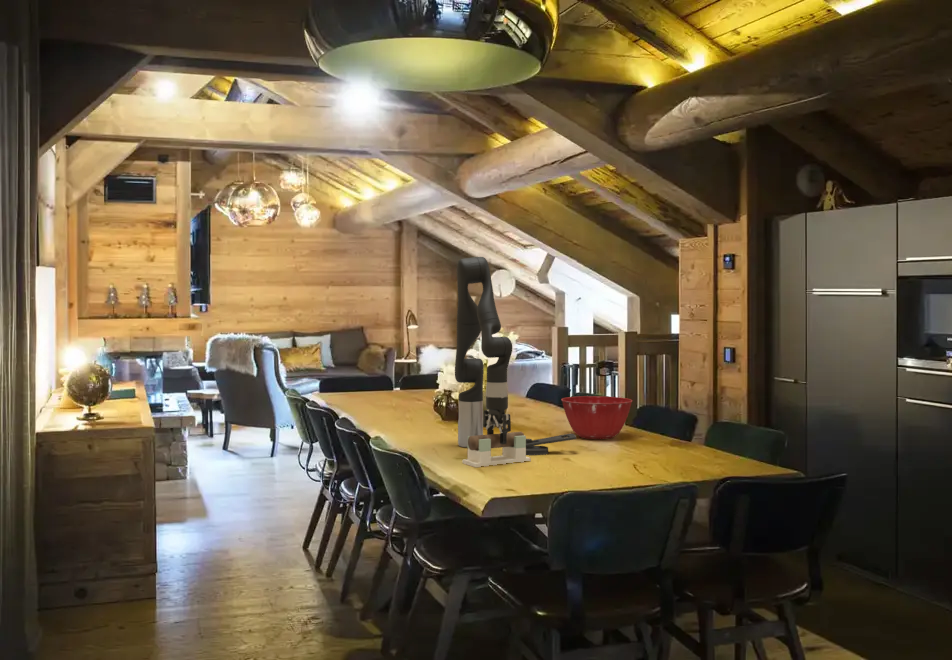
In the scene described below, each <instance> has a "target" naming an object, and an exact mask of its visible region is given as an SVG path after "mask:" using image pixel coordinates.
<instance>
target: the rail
mask: <svg viewBox="0 0 952 660" xmlns="http://www.w3.org/2000/svg"><path fill="white" fill-rule="evenodd" d="M523 435H524V436H525V433H524V432H523V431H513V432H512V431H510V432H508V433H507V443H506V444H500V433H494V434H488V435H487V434H483V435H477V436H470V437H469V438H468V446H469V449H470V450H479V439H491V449H499V448H503V447H511V446H514V436H523Z"/></svg>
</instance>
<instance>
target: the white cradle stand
mask: <svg viewBox="0 0 952 660" xmlns="http://www.w3.org/2000/svg"><path fill="white" fill-rule="evenodd" d="M469 437H470V436H468V438H469ZM526 439H527V436H526V435H525V434H524V435H523V436H514V446H511V447H501V448H502V451H501V452H502V454H501V455H495V456H492V453H491V451H492V448H491V439H479V450H470V449H469V446H468V447H467V458H465V459H462V461H461V462H462V464H464V465H466V466H467V465H468V466H470V467H473V468H482V467H481V466H484V467H490V466H489V465H493V466H498V465H497V464H503V465H507V464H506V463H512V464H514V463H513V462H521V463H525V462H524V461H530V462H532V461H531V457H529V456H526Z"/></svg>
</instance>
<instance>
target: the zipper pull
mask: <svg viewBox="0 0 952 660" xmlns="http://www.w3.org/2000/svg"><path fill="white" fill-rule="evenodd" d="M572 440H573V441H574V440H577V434H575V433H567V434H566V433H565V434H560V435H555V436H554V435H553V436H548V437H544V438H538V439H532V438H526V455H529V456H546V454H547V455H549V446H545V445H547V444H555V443H558V442H559V443H560V442H567V441H572Z"/></svg>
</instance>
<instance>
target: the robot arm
mask: <svg viewBox="0 0 952 660" xmlns="http://www.w3.org/2000/svg"><path fill="white" fill-rule="evenodd" d="M456 264H457V265H456V282H457V283H456V285H457V287H456V288H457V311H456V312H457V313H456V351H455V362H454V378H455V381H456V382H457V383H462V384H465V383H466V384H468V383H469V384H470V383H471V384H472V383H473V384H474V385H473V386H472V387H471V388H469V389H467V390H463V391H462V392H459V393H458V421H457V439H458V440H457V445H458V447H462V448H468V436H477V435H484V428H485V430H486V435H488V434H495V432H494V428H495V426H496V427H497V429H498V430H499V434H500V444H506V443H507V433H511V432H512V430H511V429H512V428H511V426H512V425H511V414H510V413H505V411H506V410H508V408H509V404H508V403H509V402H508V401H509V388H508V368H509V364H510V360H511V356H512V353H513V343H512V340H511V339H510V338H509V337H507V336H493V335H496V334H498V333H499V332H500V331H501V329H502V324H501V320H500V317H499V313H498V311H497V307H496V303H495V296H494V288H493V281H492V277H491V270H490V266H489V262H488V260H487V258H486V257H484V256H475V257H464V258H460V259H459V260H458V262H457V263H456ZM480 283H481V285H482V293H481V297H480V299H479V301H478V304H477V303H476V302H475V300H474V299H473V298H472V295H471V294H470V291H469V285H472V284H480ZM480 335H481V341H480V342H481V345H480V347H481V348H480V349H481V353H482V354H483V355H484V356H485V357H486V358H487V359H488V358H489V359H492V358H498V359H497V361H496V362H495V363H493V364H489V365H488V366H487V367H486V385H485V386H486V387H485V408H486V409H485V410H484V389H483V388H484V372H485V370H484V369H485V368H484V367H485V366H484V361H483V359H482V358H474V357H473V358H470V357H469V358H466V356H467V352H468V351H469V349H470V348H471V346H472V345H473V344H474V343H475V341H476V340H477V339H478V337H479V336H480Z"/></svg>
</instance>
